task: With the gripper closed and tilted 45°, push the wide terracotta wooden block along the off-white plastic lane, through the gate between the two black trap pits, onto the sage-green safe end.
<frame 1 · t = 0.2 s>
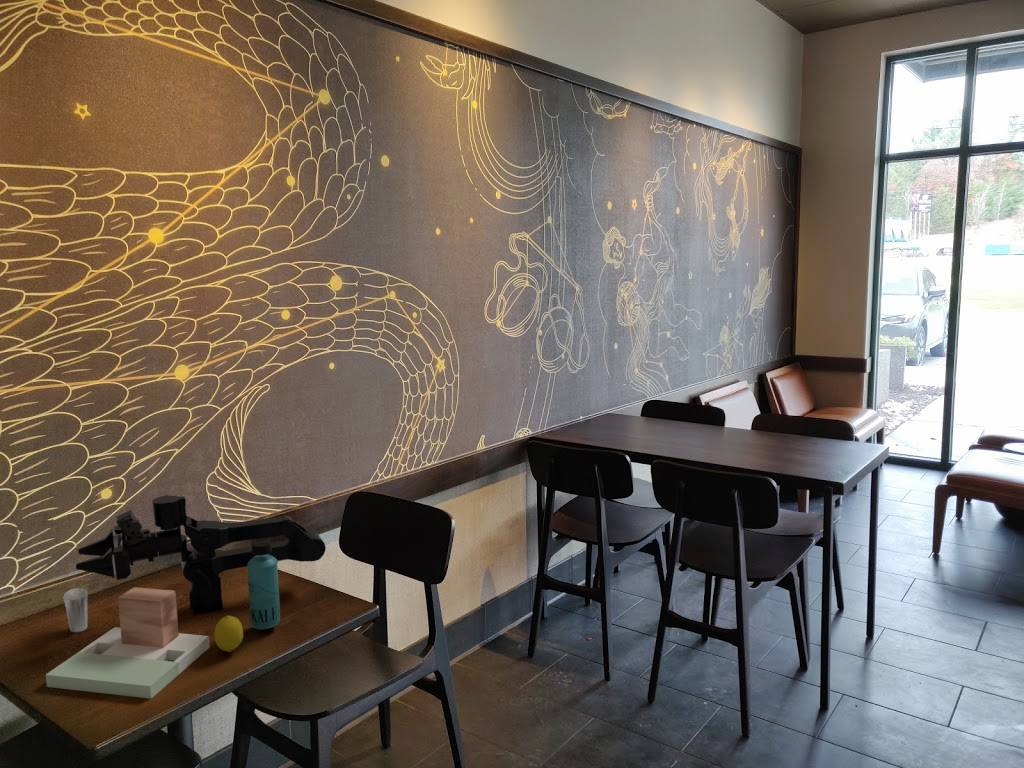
hand: (77, 558, 162), 16 cm above the table, tool horizontal, fingers open, 9 cm apart
terracotta block: (150, 639, 155), point 2 cm above the table, touching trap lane
lemon: (230, 652, 156), on the table
milkshake: (80, 630, 165), on the table
beverage bottle: (266, 630, 165), on the table
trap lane: (132, 666, 150), on the table
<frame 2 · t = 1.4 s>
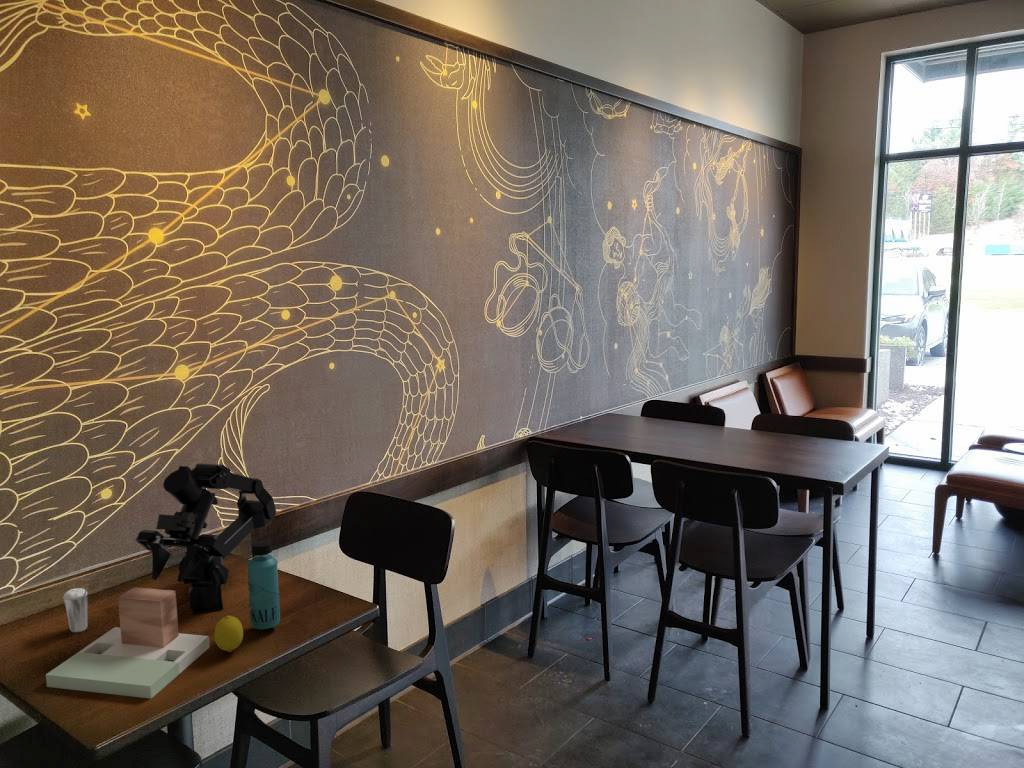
hand: (166, 580, 160), 13 cm above the table, tool tilted 45°, fingers open, 6 cm apart
nothing on the table moved.
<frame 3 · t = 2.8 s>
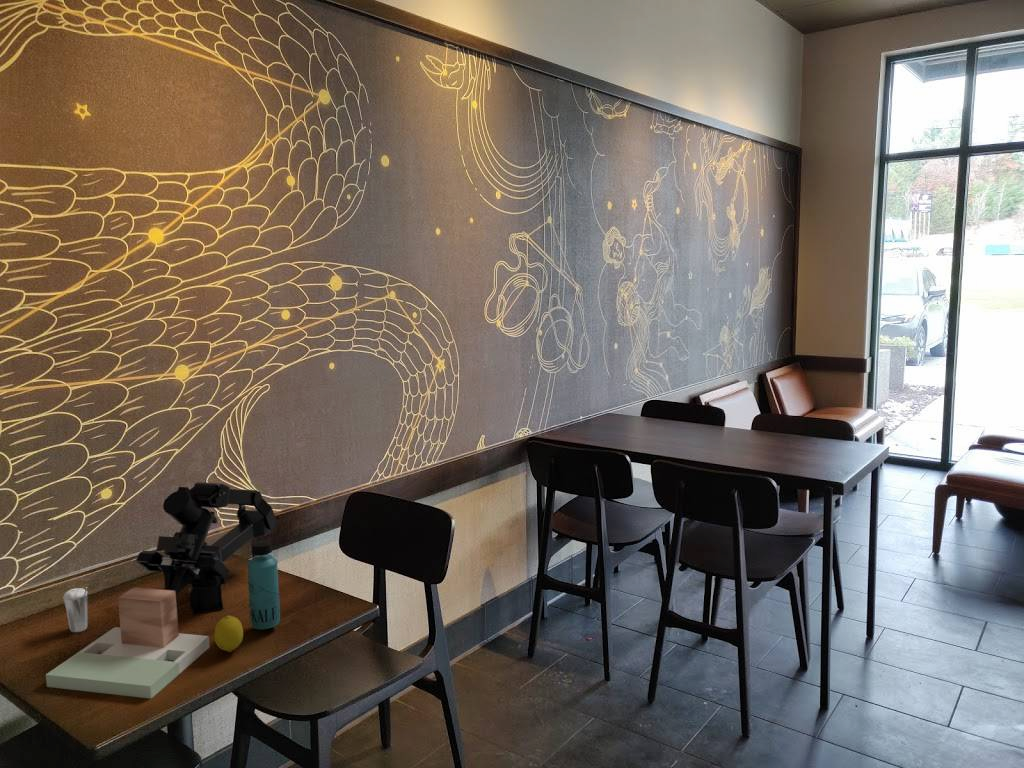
hand: (167, 601, 160), 8 cm above the table, tool tilted 45°, fingers closed
nothing on the table moved.
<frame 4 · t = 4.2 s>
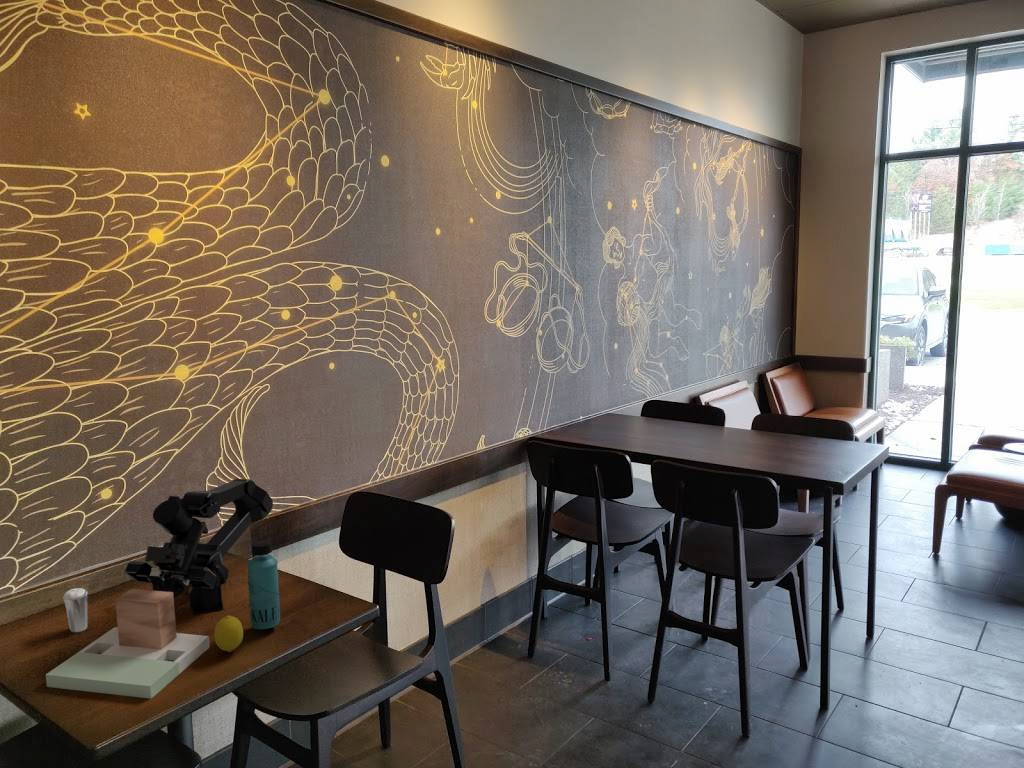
hand: (155, 613, 157), 7 cm above the table, tool tilted 45°, fingers closed
terracotta block: (148, 641, 155), point 3 cm above the table
everything else where it was.
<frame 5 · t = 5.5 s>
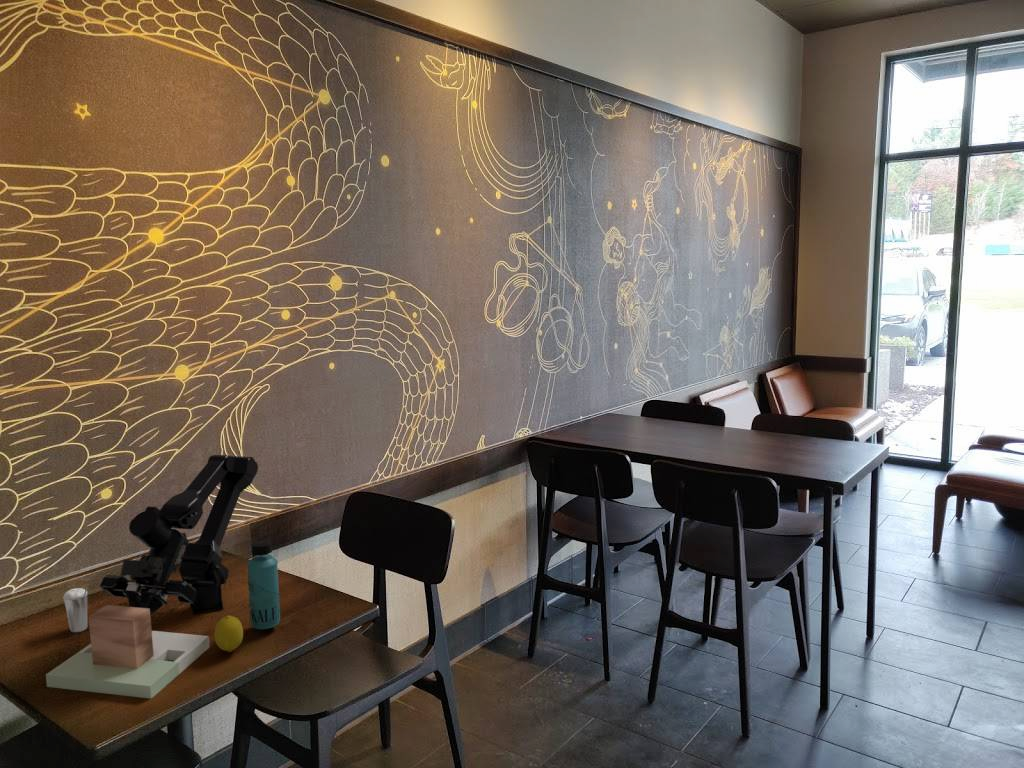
hand: (131, 630, 149), 7 cm above the table, tool tilted 45°, fingers closed
terracotta block: (123, 660, 147), point 3 cm above the table, touching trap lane
everything else where it was.
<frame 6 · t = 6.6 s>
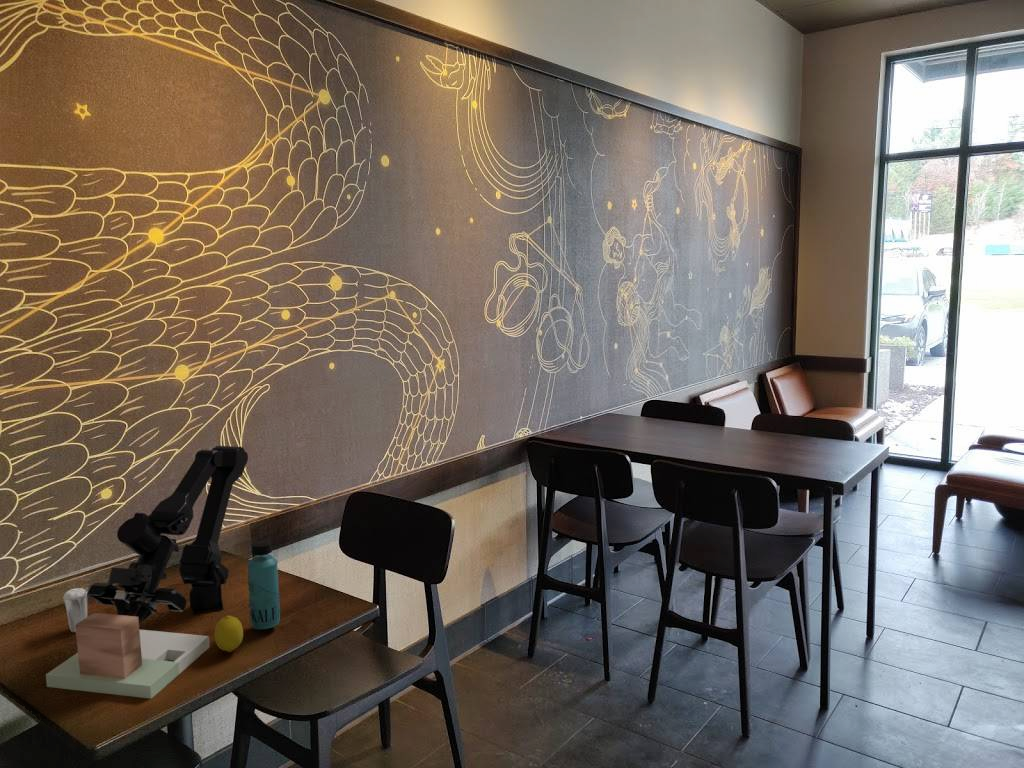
hand: (119, 639, 146), 7 cm above the table, tool tilted 45°, fingers closed, pressing on terracotta block
terracotta block: (111, 669, 144), point 2 cm above the table, touching gripper, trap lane
everything else where it was.
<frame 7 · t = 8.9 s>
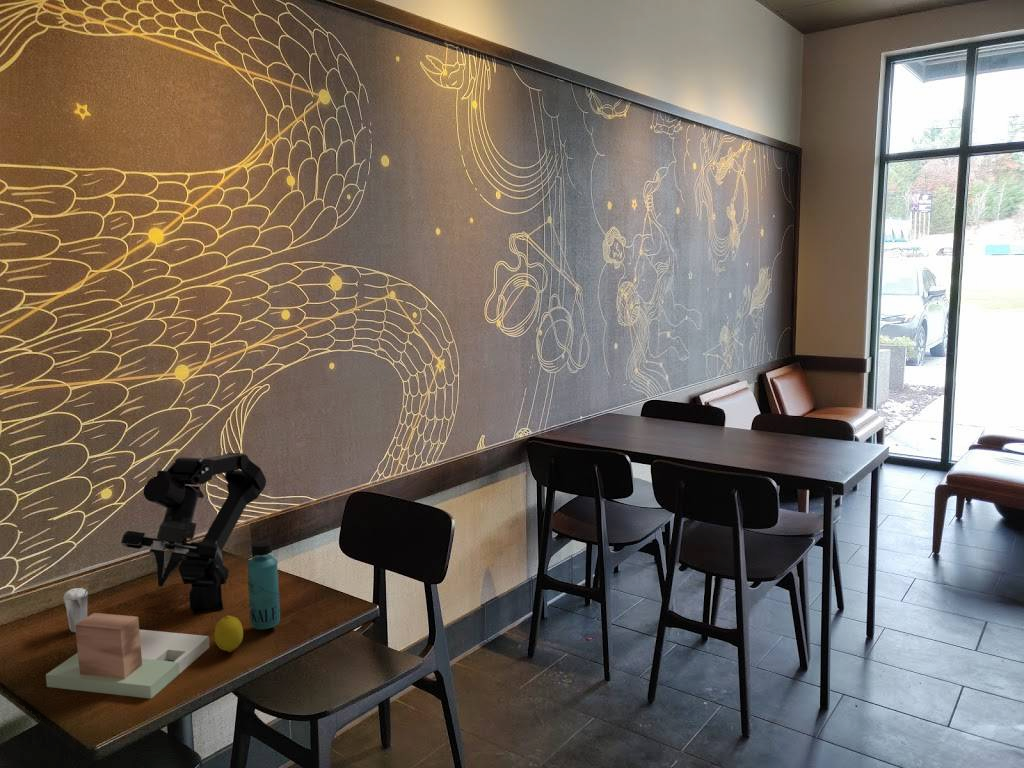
hand: (160, 586, 158), 12 cm above the table, tool tilted 30°, fingers closed
terracotta block: (111, 669, 144), point 2 cm above the table, touching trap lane
everything else where it was.
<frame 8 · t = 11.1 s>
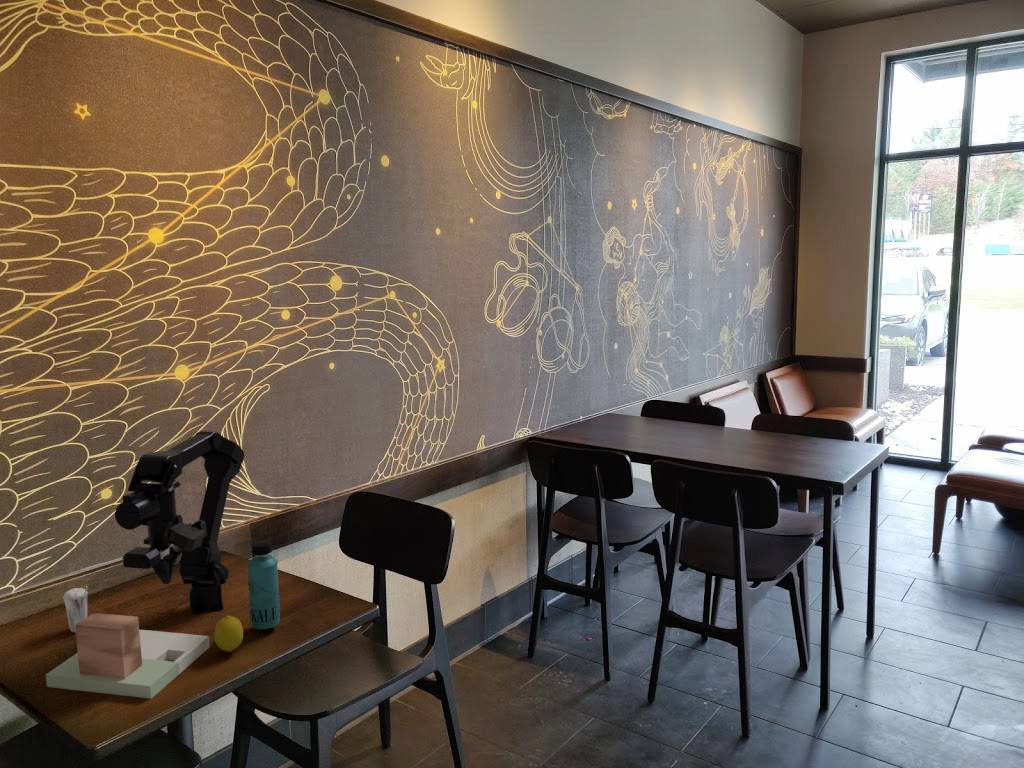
hand: (166, 583, 160), 12 cm above the table, tool pointing down, fingers closed
nothing on the table moved.
at the end: terracotta block 0.4 cm from the target spot on the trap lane, point 2.5 cm above the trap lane's base; terracotta block tilted 0° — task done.
